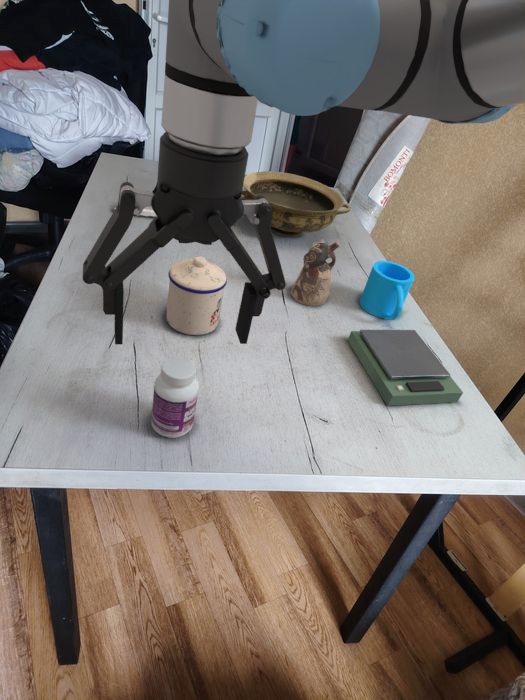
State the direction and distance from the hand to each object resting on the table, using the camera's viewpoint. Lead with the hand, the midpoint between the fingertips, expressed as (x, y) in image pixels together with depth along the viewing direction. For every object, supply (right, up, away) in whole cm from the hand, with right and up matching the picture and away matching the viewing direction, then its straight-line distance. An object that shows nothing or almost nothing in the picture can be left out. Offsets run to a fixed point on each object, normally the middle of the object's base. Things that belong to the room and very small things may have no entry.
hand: (182, 336), depth 53 cm
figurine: (+18, +9, +41) cm, 45 cm away
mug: (+33, +6, +41) cm, 53 cm away
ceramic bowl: (+14, +28, +64) cm, 71 cm away
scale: (+32, -5, +27) cm, 42 cm away
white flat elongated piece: (-18, +30, +55) cm, 65 cm away
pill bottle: (-3, -11, +8) cm, 14 cm away
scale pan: (+32, -2, +26) cm, 42 cm away
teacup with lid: (-3, +4, +28) cm, 28 cm away
